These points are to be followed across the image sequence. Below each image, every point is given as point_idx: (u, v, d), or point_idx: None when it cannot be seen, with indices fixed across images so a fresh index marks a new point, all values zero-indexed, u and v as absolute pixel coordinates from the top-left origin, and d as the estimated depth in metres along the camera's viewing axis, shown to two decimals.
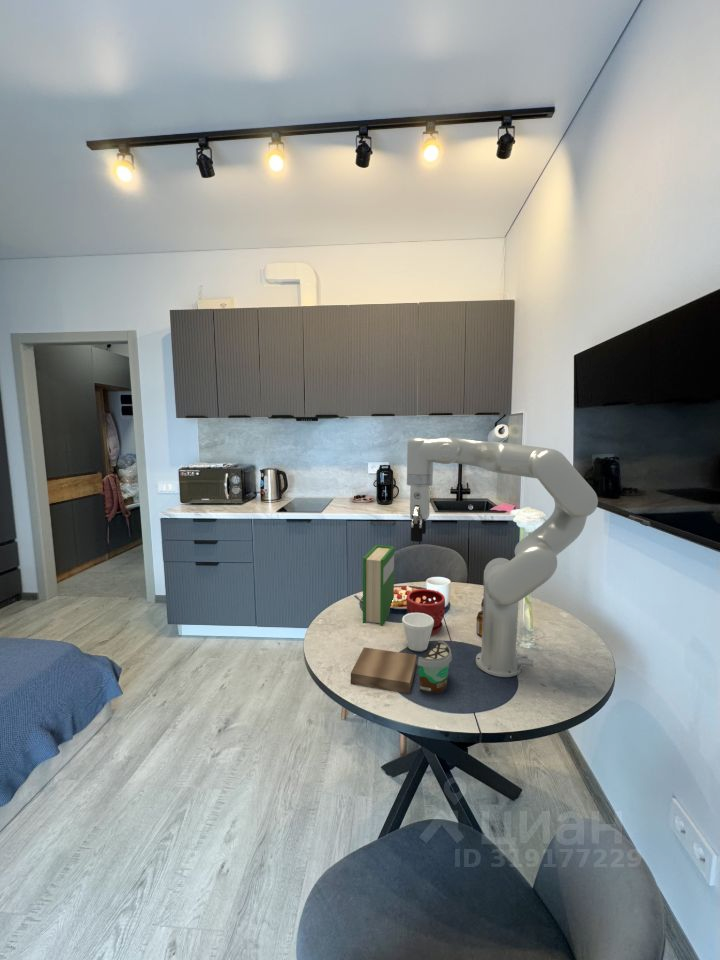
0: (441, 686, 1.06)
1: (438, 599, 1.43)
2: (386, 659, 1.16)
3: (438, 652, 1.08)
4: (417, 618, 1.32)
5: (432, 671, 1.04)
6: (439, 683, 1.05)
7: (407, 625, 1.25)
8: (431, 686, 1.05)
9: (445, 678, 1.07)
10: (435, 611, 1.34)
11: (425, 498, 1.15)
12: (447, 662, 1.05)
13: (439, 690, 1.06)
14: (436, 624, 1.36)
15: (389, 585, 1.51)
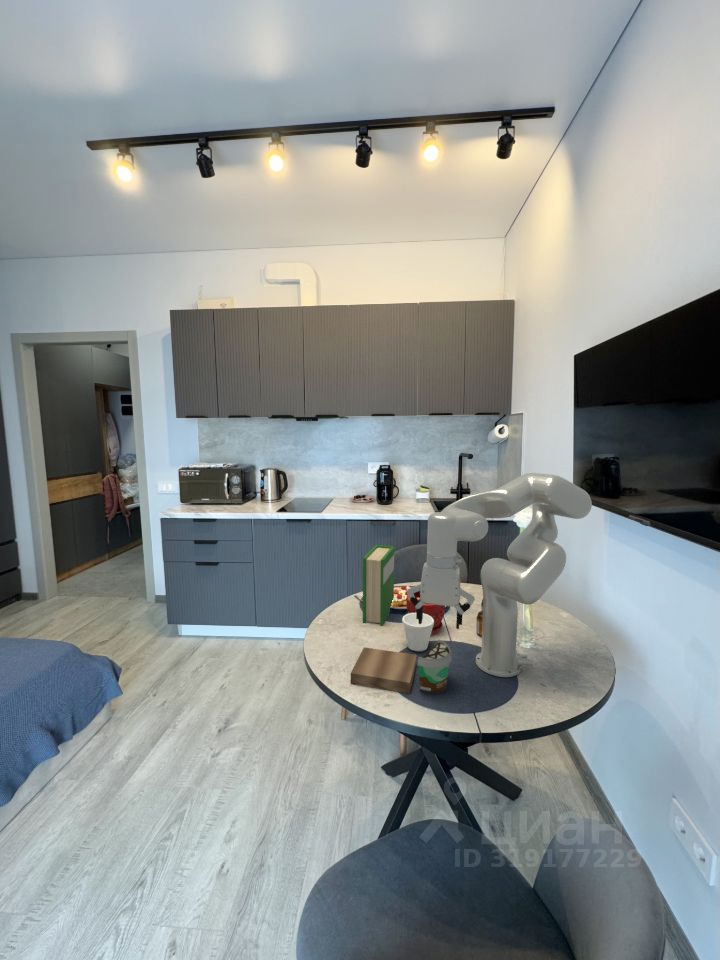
0: (441, 686, 1.06)
1: None
2: (386, 659, 1.16)
3: (438, 652, 1.08)
4: None
5: (432, 671, 1.04)
6: (439, 683, 1.05)
7: (407, 625, 1.25)
8: (431, 686, 1.05)
9: (445, 678, 1.07)
10: (435, 611, 1.34)
11: None
12: (447, 662, 1.05)
13: (439, 690, 1.06)
14: (436, 624, 1.36)
15: (389, 585, 1.51)
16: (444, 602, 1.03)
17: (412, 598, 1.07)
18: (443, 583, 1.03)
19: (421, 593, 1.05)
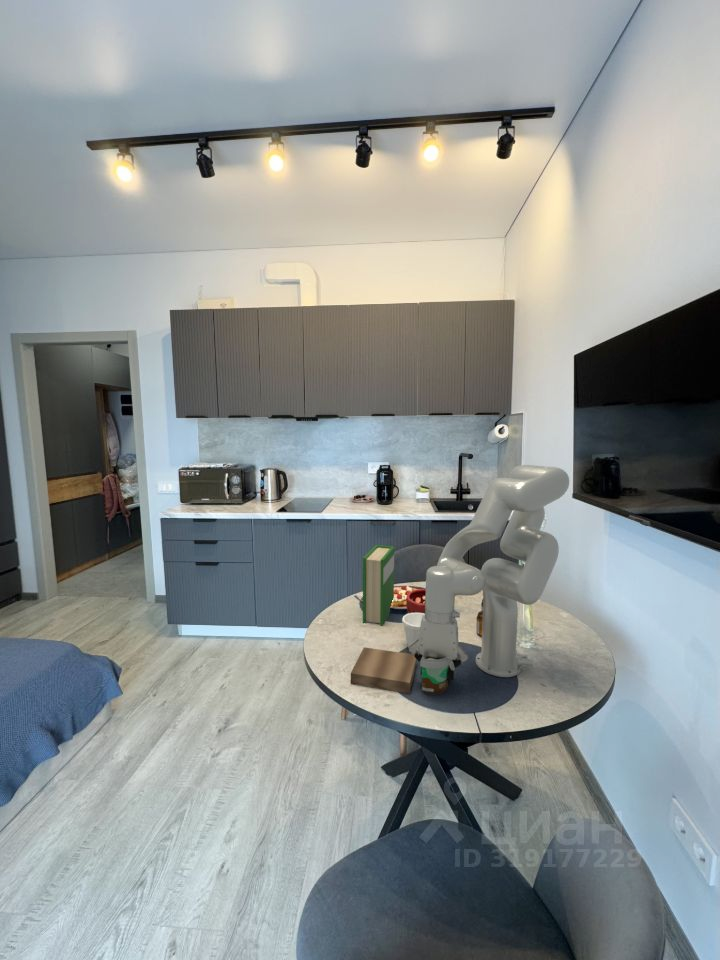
0: (443, 686, 1.06)
1: None
2: (386, 659, 1.16)
3: None
4: (417, 618, 1.32)
5: (434, 672, 1.04)
6: (441, 683, 1.05)
7: (407, 625, 1.25)
8: (434, 687, 1.05)
9: (447, 678, 1.07)
10: None
11: None
12: (449, 662, 1.05)
13: (441, 690, 1.06)
14: None
15: (389, 585, 1.51)
16: (442, 656, 1.05)
17: (416, 654, 1.08)
18: (441, 637, 1.04)
19: (419, 646, 1.06)
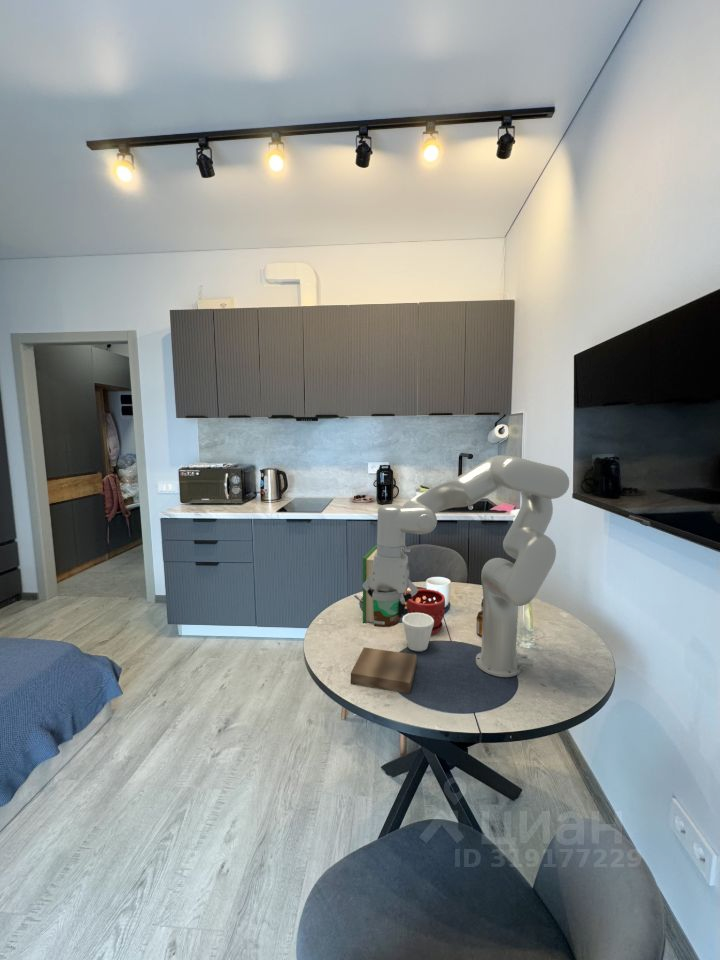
0: (394, 620, 1.10)
1: (438, 599, 1.43)
2: (386, 659, 1.16)
3: None
4: (417, 618, 1.32)
5: (385, 605, 1.08)
6: (392, 616, 1.09)
7: (407, 625, 1.25)
8: (385, 619, 1.09)
9: (398, 612, 1.10)
10: (435, 611, 1.34)
11: None
12: (400, 596, 1.09)
13: (392, 623, 1.09)
14: (436, 624, 1.36)
15: None
16: (393, 590, 1.09)
17: (369, 590, 1.12)
18: (391, 571, 1.08)
19: (371, 581, 1.10)
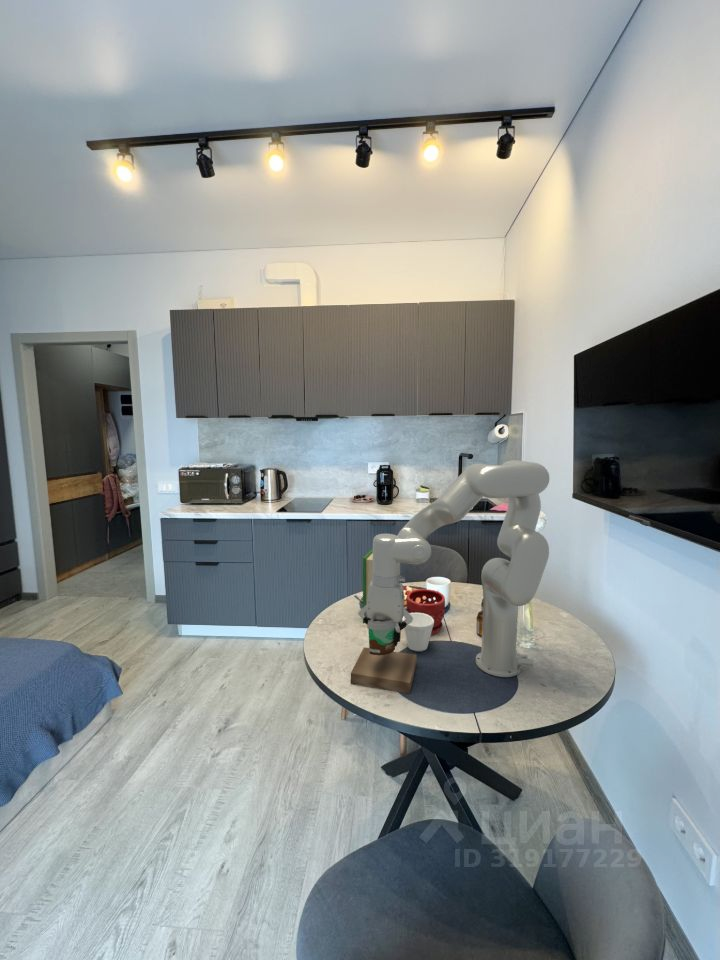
0: (390, 648, 1.11)
1: (438, 599, 1.43)
2: (386, 659, 1.16)
3: None
4: (417, 618, 1.32)
5: (380, 634, 1.09)
6: (387, 645, 1.10)
7: (407, 625, 1.25)
8: (380, 648, 1.10)
9: (393, 640, 1.12)
10: (435, 611, 1.34)
11: None
12: (395, 624, 1.10)
13: (388, 652, 1.11)
14: (436, 624, 1.36)
15: None
16: (388, 618, 1.10)
17: (365, 618, 1.13)
18: (387, 601, 1.09)
19: (367, 610, 1.12)
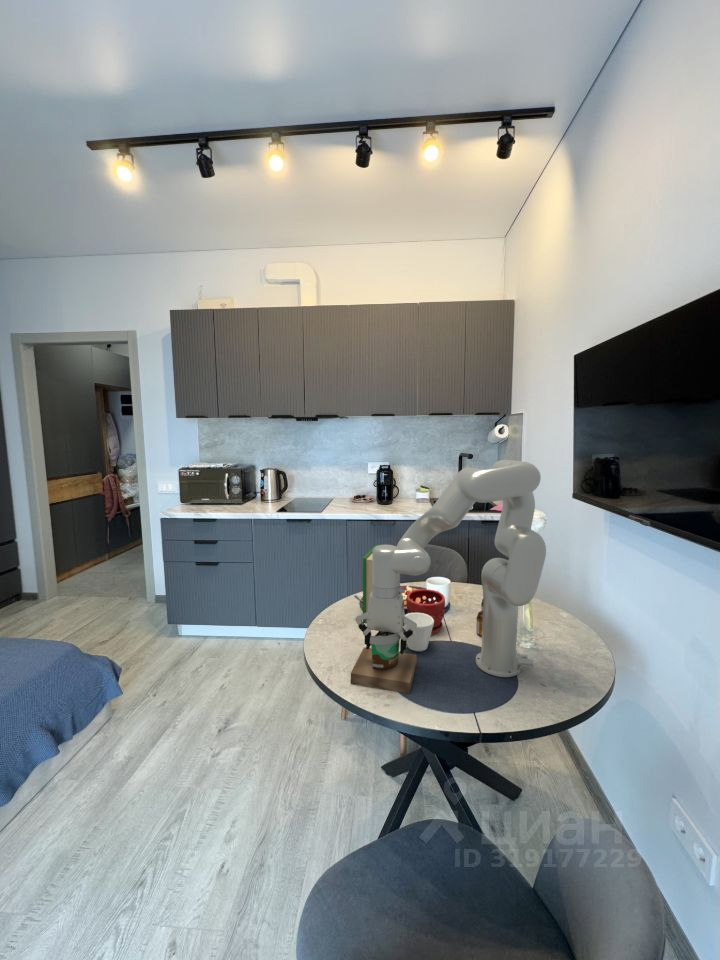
0: (393, 662, 1.11)
1: (438, 599, 1.43)
2: None
3: None
4: (417, 618, 1.32)
5: (383, 648, 1.10)
6: (390, 659, 1.11)
7: (407, 625, 1.25)
8: (383, 662, 1.10)
9: (396, 654, 1.12)
10: (435, 611, 1.34)
11: None
12: (397, 638, 1.11)
13: (391, 666, 1.11)
14: (436, 624, 1.36)
15: None
16: (388, 629, 1.10)
17: (360, 625, 1.14)
18: (387, 612, 1.10)
19: (367, 621, 1.12)
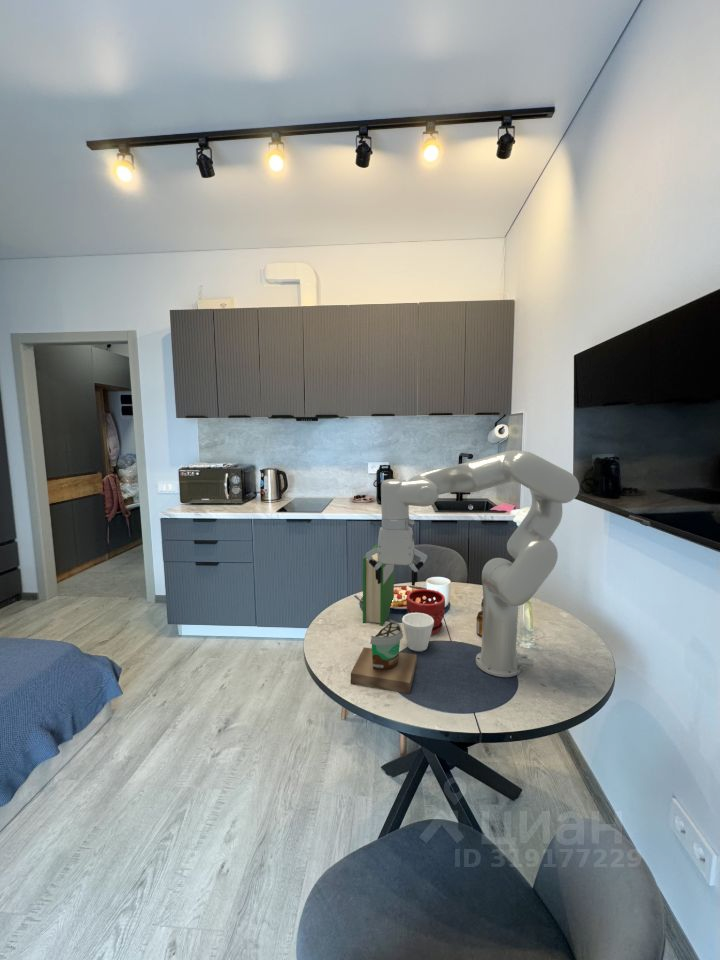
0: (393, 662, 1.11)
1: (438, 599, 1.43)
2: None
3: (389, 631, 1.14)
4: (417, 618, 1.32)
5: (384, 649, 1.09)
6: (390, 659, 1.11)
7: (407, 625, 1.25)
8: (384, 663, 1.10)
9: (396, 655, 1.12)
10: (435, 611, 1.34)
11: None
12: (398, 639, 1.11)
13: (391, 666, 1.11)
14: (436, 624, 1.36)
15: (389, 585, 1.51)
16: (399, 561, 1.12)
17: (371, 560, 1.15)
18: (397, 544, 1.11)
19: (378, 555, 1.13)
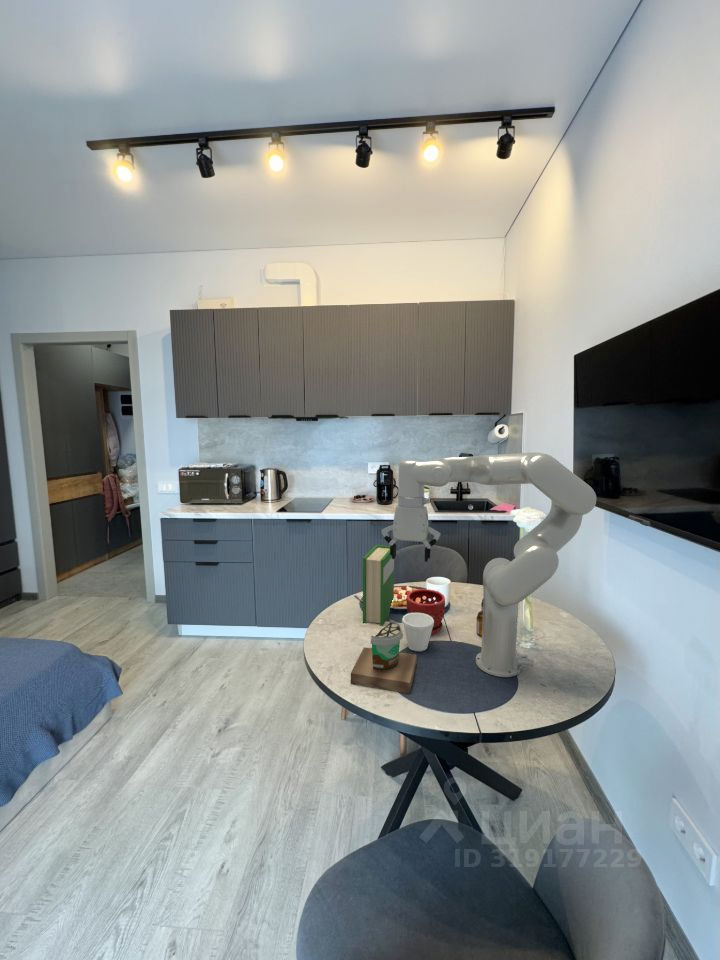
0: (393, 662, 1.11)
1: (438, 599, 1.43)
2: None
3: (389, 631, 1.14)
4: (417, 618, 1.32)
5: (384, 649, 1.09)
6: (390, 659, 1.11)
7: (407, 625, 1.25)
8: (384, 663, 1.10)
9: (396, 655, 1.12)
10: (435, 611, 1.34)
11: None
12: (398, 639, 1.11)
13: (391, 666, 1.11)
14: (436, 624, 1.36)
15: (389, 585, 1.51)
16: (413, 538, 1.17)
17: (386, 536, 1.21)
18: (412, 521, 1.16)
19: (393, 531, 1.19)
